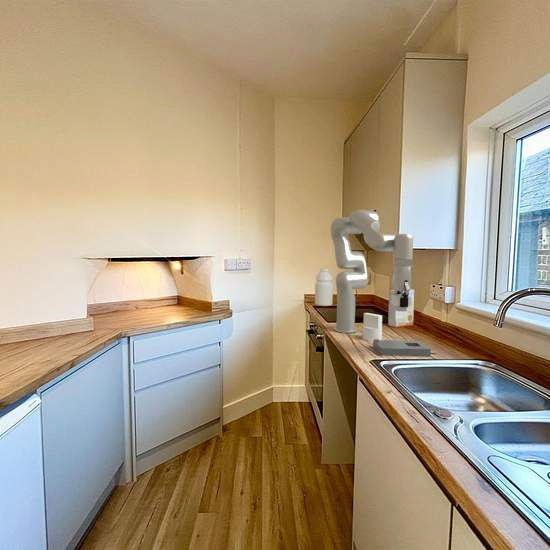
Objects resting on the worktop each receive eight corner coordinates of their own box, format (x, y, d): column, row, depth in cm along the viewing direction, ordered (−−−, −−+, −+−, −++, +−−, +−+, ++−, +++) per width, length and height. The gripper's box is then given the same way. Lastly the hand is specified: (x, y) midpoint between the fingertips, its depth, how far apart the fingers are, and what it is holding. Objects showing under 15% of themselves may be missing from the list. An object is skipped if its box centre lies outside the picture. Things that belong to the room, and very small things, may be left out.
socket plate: (372, 346, 152) (373, 338, 151) (417, 347, 151) (418, 338, 151) (381, 355, 139) (381, 346, 138) (430, 356, 138) (431, 347, 138)
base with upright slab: (358, 338, 165) (359, 314, 164) (370, 335, 171) (370, 312, 170) (374, 342, 158) (374, 317, 157) (385, 339, 164) (386, 315, 163)
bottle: (312, 303, 270) (312, 268, 268) (328, 302, 273) (329, 268, 271) (318, 306, 256) (319, 269, 254) (335, 305, 260) (336, 269, 258)
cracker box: (405, 323, 200) (406, 288, 198) (413, 325, 194) (415, 289, 192) (387, 325, 193) (388, 289, 192) (395, 327, 188) (396, 290, 186)
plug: (390, 309, 147) (391, 294, 146) (405, 309, 146) (406, 294, 146) (395, 311, 140) (396, 296, 140) (411, 312, 140) (411, 296, 140)
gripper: (387, 262, 151) (386, 302, 152) (400, 264, 133) (398, 309, 135) (404, 262, 150) (403, 302, 152) (419, 264, 133) (417, 309, 134)
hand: (401, 305), depth 143 cm, fingers closed on plug, 6 cm apart
